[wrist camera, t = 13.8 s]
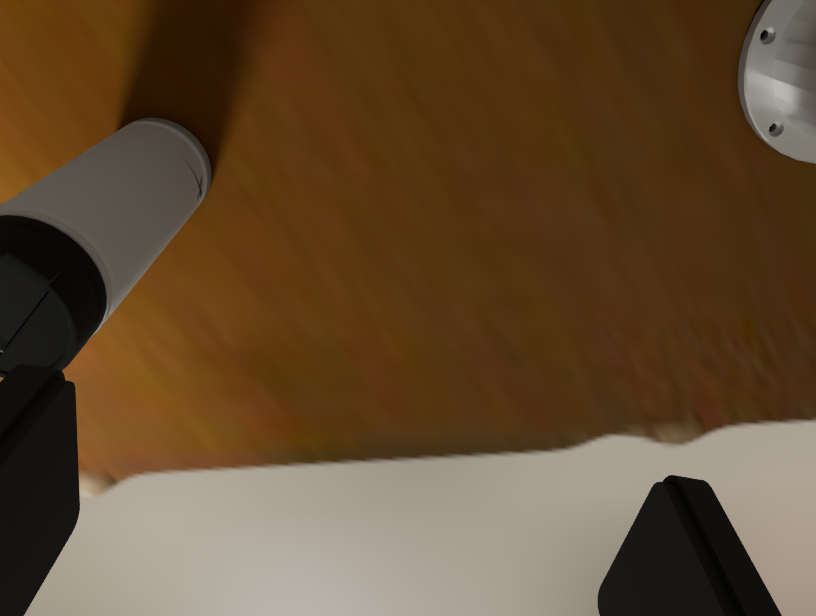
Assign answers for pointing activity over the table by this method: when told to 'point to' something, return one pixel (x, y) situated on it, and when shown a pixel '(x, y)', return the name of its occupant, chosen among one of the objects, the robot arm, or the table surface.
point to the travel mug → (92, 237)
